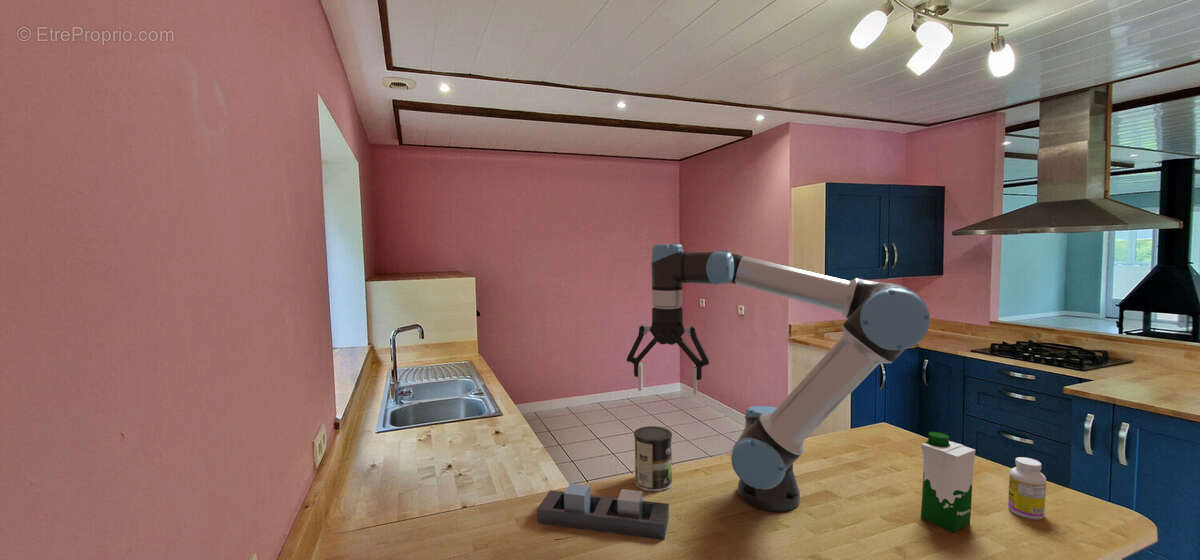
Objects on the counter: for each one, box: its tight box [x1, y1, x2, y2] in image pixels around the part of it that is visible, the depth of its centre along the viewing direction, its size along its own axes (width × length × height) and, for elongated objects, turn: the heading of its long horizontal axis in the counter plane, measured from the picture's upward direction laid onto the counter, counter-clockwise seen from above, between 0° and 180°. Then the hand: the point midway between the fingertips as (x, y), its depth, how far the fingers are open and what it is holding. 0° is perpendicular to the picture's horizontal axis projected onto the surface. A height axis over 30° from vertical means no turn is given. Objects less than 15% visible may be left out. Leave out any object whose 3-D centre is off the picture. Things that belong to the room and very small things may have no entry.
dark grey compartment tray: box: [536, 490, 670, 541], centre depth 117 cm, size 30×9×4 cm, turn 76°
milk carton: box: [920, 431, 976, 533], centre depth 115 cm, size 9×9×20 cm
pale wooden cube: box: [617, 488, 644, 520], centre depth 116 cm, size 5×5×7 cm
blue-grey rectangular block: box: [563, 483, 591, 513], centre depth 119 cm, size 5×5×7 cm
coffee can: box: [633, 425, 673, 493], centre depth 135 cm, size 10×10×14 cm
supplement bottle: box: [1007, 456, 1047, 520], centre depth 118 cm, size 7×7×13 cm
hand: (667, 391), depth 124 cm, fingers open, 13 cm apart
